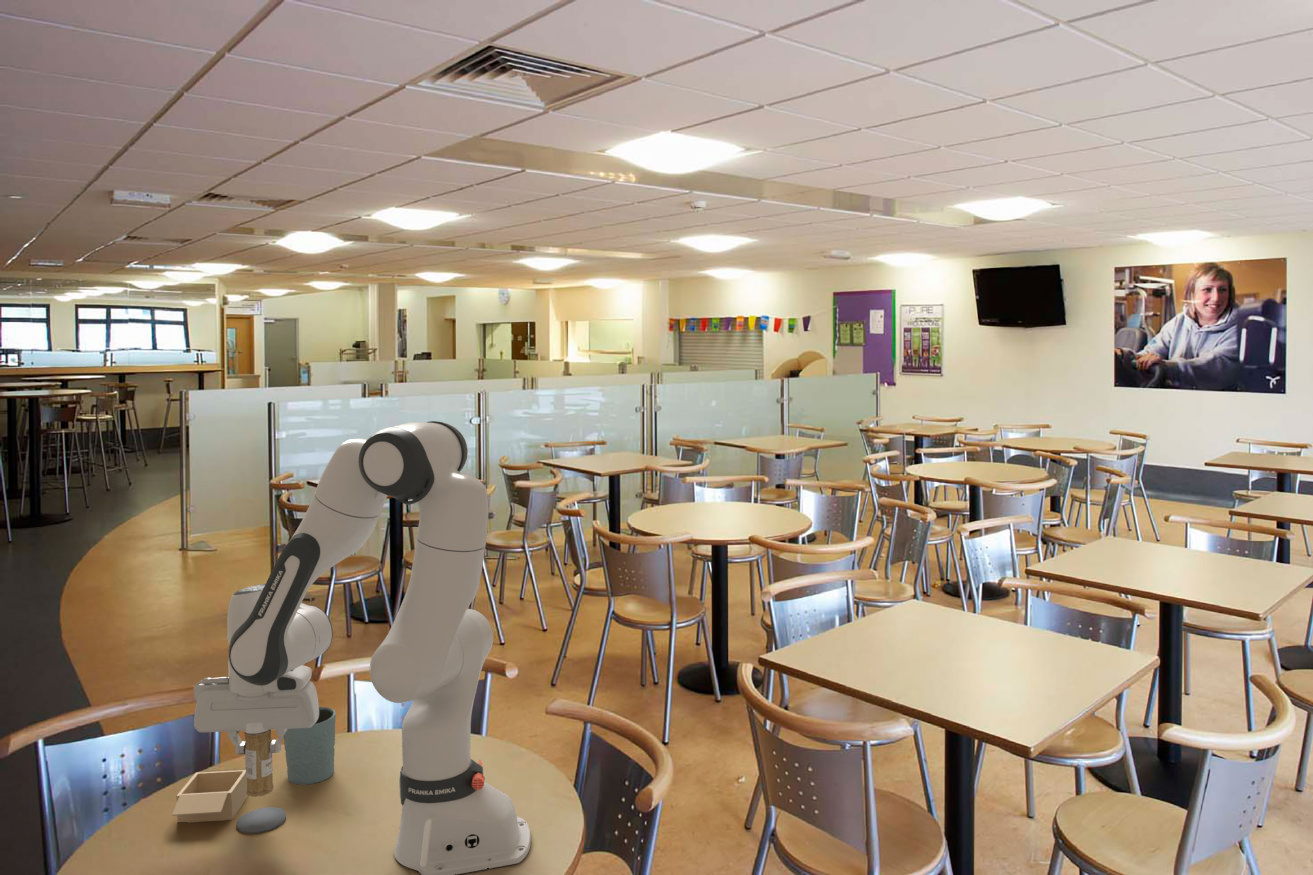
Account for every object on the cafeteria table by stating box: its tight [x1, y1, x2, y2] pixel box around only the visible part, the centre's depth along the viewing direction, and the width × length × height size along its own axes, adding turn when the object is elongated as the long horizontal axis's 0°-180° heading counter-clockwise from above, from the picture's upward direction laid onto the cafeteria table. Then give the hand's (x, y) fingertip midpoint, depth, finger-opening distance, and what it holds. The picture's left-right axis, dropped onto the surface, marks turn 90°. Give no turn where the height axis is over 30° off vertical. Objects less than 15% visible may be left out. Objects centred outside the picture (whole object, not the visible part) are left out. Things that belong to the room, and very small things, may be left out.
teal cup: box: [282, 706, 337, 786], centre depth 176 cm, size 10×10×12 cm
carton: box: [171, 768, 249, 823], centre depth 162 cm, size 9×17×5 cm, turn 8°
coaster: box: [236, 806, 287, 834], centre depth 158 cm, size 8×8×1 cm
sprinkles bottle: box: [243, 722, 275, 798], centre depth 157 cm, size 5×5×14 cm
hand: (258, 752), depth 157 cm, fingers closed on sprinkles bottle, 4 cm apart
